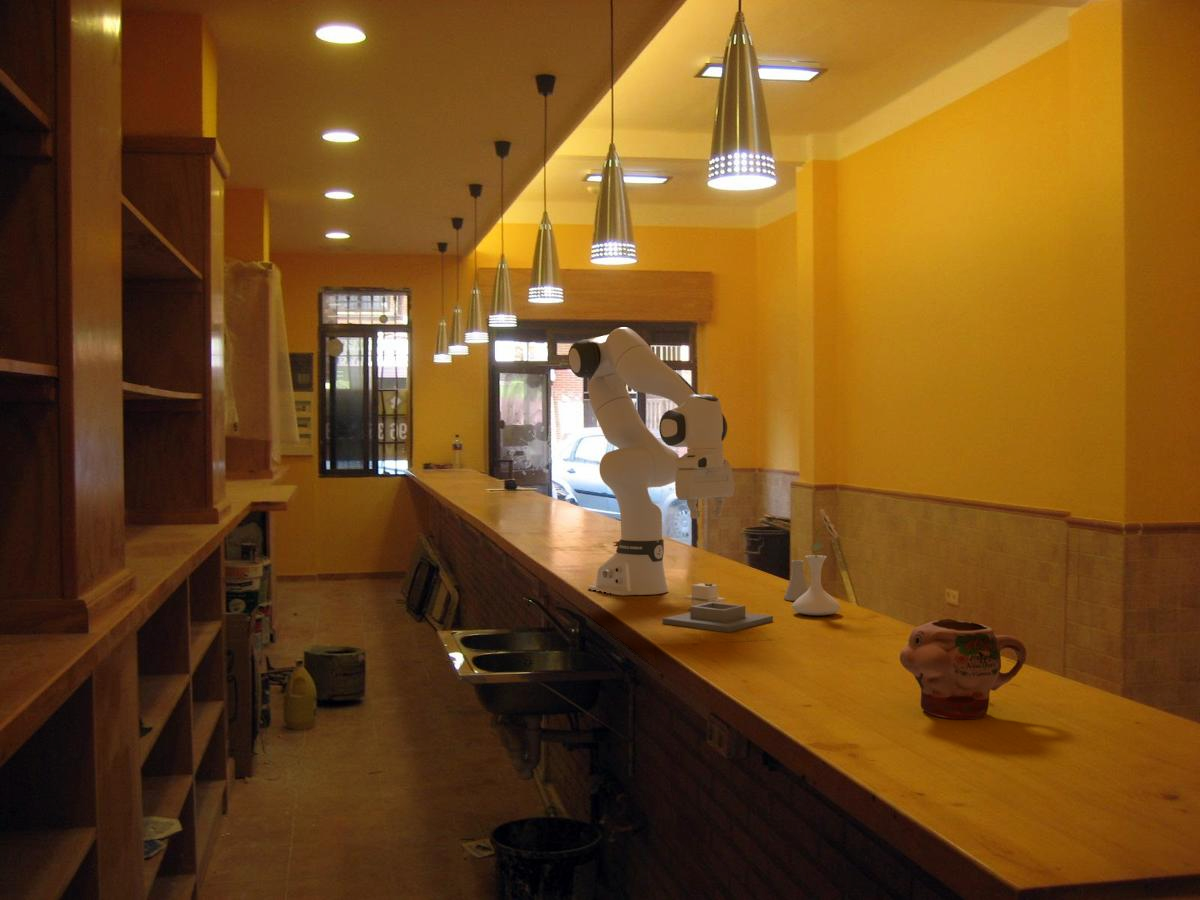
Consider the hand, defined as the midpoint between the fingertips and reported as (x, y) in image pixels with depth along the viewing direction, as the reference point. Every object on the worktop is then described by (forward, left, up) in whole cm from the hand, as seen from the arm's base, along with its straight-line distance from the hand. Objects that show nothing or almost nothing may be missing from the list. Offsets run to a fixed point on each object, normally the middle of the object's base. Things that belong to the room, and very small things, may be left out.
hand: (706, 517), depth 278 cm
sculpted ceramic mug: (+89, -56, -23) cm, 107 cm away
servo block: (0, -1, -23) cm, 23 cm away
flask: (+10, +26, -23) cm, 36 cm away
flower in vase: (+25, +10, -23) cm, 35 cm away
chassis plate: (+13, -14, -23) cm, 29 cm away
